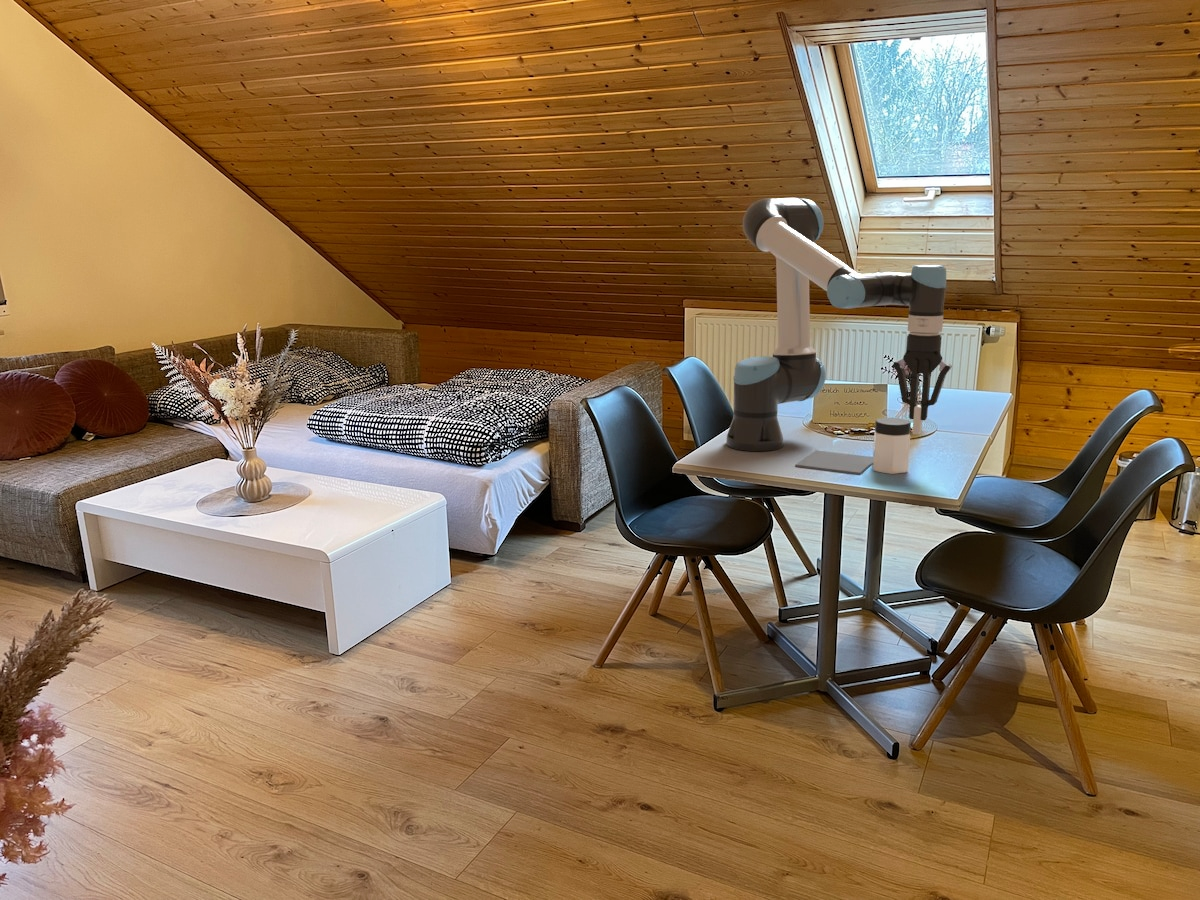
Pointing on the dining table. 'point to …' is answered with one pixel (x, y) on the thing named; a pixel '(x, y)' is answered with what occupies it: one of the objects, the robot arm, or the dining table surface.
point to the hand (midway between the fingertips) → (916, 432)
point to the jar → (891, 445)
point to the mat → (836, 462)
